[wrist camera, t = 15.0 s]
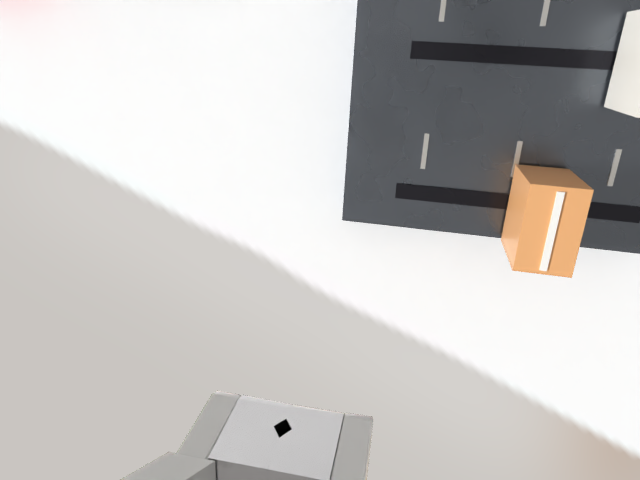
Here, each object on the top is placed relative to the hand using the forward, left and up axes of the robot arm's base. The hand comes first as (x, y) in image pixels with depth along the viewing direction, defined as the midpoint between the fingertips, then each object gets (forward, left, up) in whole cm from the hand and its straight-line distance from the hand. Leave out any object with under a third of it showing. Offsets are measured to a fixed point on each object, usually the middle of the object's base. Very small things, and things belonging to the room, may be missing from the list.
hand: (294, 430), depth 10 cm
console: (-5, +6, -21) cm, 22 cm away
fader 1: (0, +8, -19) cm, 20 cm away
